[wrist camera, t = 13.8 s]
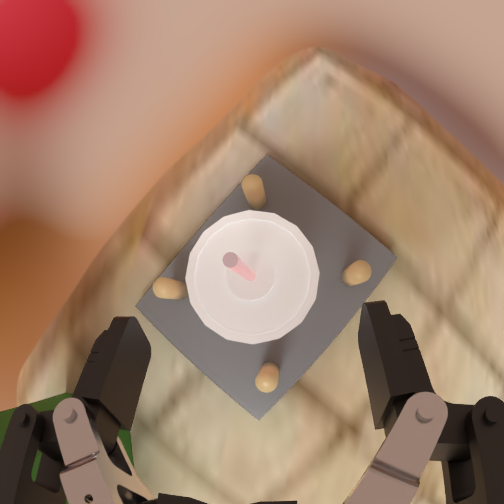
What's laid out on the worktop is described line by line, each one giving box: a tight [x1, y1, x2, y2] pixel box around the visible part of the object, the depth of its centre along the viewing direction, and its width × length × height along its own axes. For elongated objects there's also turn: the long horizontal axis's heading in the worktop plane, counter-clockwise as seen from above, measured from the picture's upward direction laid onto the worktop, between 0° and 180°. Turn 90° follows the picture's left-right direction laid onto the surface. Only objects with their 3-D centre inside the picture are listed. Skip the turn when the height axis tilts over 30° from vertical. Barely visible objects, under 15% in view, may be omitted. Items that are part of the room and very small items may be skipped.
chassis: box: [135, 155, 397, 420], centre depth 22 cm, size 16×13×5 cm
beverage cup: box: [185, 210, 320, 344], centre depth 16 cm, size 6×6×14 cm
